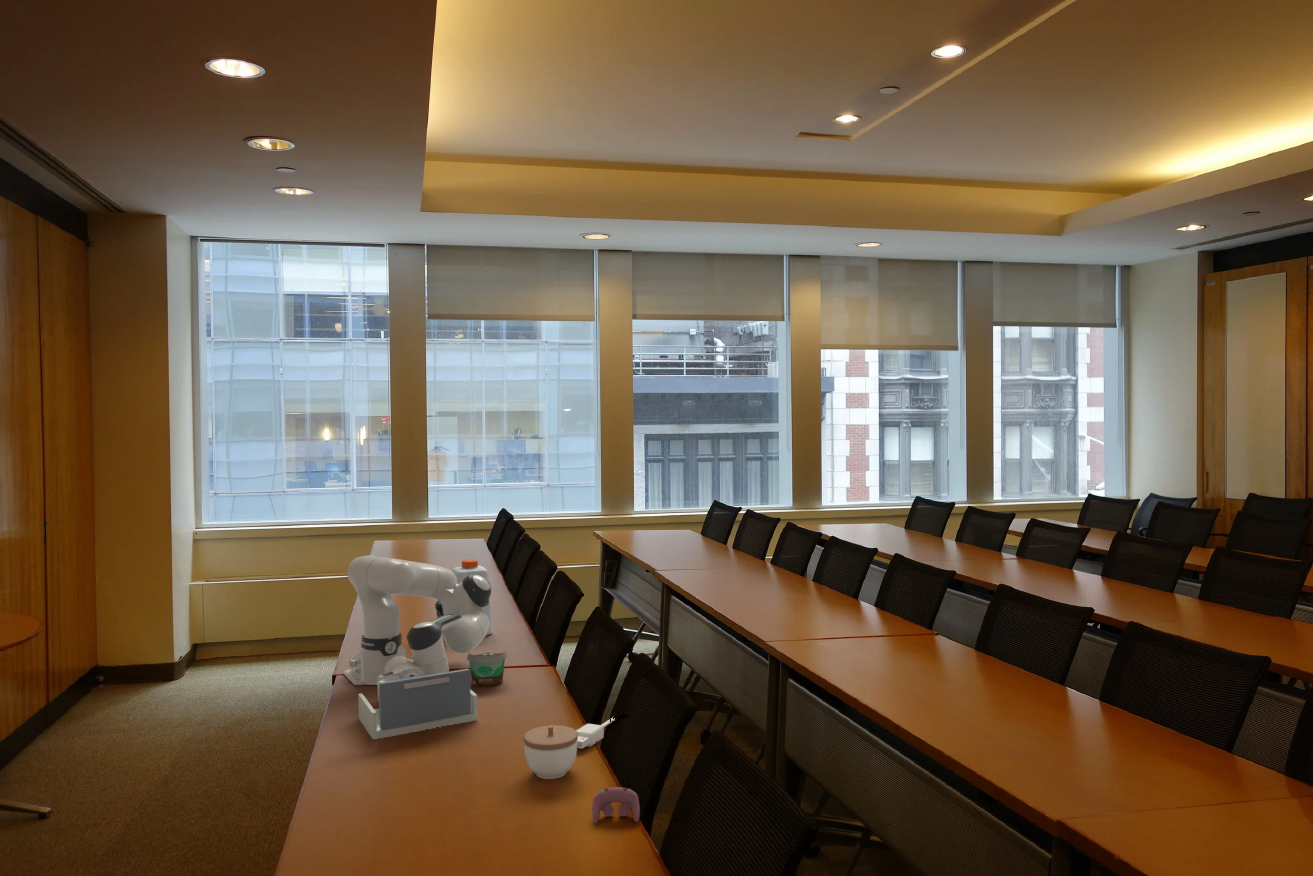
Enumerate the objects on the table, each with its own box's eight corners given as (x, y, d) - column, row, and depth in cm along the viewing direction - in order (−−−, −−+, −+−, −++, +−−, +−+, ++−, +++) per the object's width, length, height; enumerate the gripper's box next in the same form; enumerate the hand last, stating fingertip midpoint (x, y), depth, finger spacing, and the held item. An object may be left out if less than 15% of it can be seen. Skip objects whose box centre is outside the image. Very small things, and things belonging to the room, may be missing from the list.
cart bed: (358, 719, 245) (358, 694, 245) (457, 701, 259) (457, 678, 259) (372, 739, 230) (372, 713, 229) (477, 720, 243) (477, 695, 243)
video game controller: (639, 822, 186) (639, 787, 189) (640, 822, 181) (639, 785, 184) (592, 824, 185) (592, 788, 188) (591, 823, 181) (591, 787, 184)
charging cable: (637, 715, 249) (637, 703, 249) (583, 752, 220) (584, 738, 220) (621, 713, 251) (621, 701, 251) (566, 749, 222) (566, 736, 222)
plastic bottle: (447, 631, 343) (445, 559, 342) (485, 626, 349) (484, 556, 348) (455, 640, 329) (454, 565, 328) (495, 635, 335) (494, 562, 334)
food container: (468, 690, 269) (468, 658, 269) (467, 684, 275) (466, 652, 275) (509, 686, 273) (508, 654, 272) (507, 680, 279) (506, 649, 278)
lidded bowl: (528, 787, 200) (527, 739, 199) (520, 766, 212) (520, 720, 212) (583, 780, 203) (582, 732, 203) (572, 759, 215) (572, 714, 215)
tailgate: (379, 728, 231) (378, 682, 231) (469, 711, 243) (468, 668, 243) (381, 730, 229) (380, 685, 229) (471, 714, 241) (470, 670, 241)
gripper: (445, 686, 258) (459, 700, 246) (373, 698, 248) (384, 713, 236) (444, 665, 258) (458, 677, 246) (372, 676, 248) (383, 690, 236)
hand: (421, 695), depth 241 cm, fingers closed
